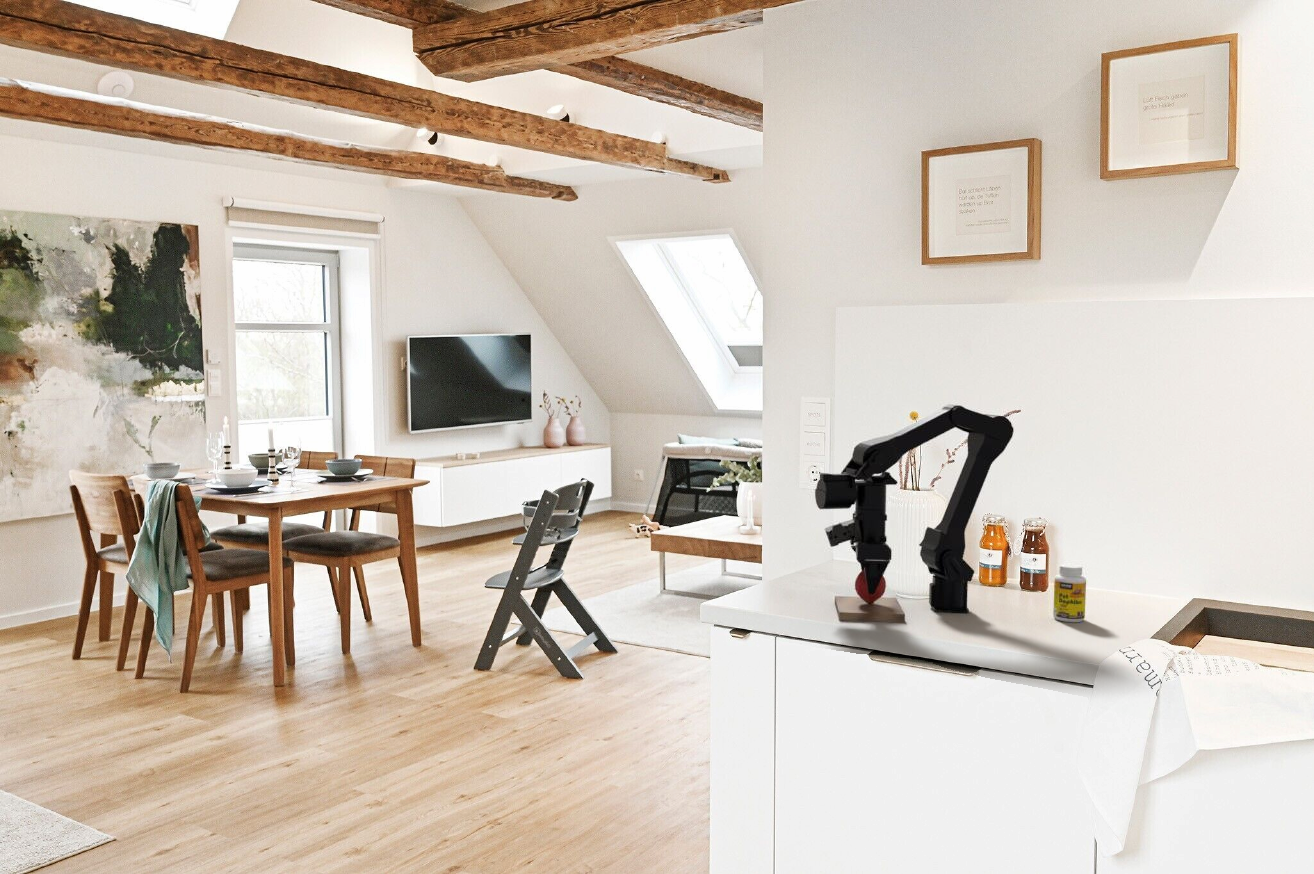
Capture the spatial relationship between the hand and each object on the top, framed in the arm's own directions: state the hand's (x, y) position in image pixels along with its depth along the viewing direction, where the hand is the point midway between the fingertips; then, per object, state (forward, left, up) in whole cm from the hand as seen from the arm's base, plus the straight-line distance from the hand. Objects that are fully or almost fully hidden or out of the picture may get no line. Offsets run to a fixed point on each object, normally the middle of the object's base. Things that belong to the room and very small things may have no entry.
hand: (869, 588), depth 207 cm
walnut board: (0, 0, -5) cm, 5 cm away
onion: (0, 0, -3) cm, 3 cm away
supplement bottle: (-37, +1, -5) cm, 37 cm away
